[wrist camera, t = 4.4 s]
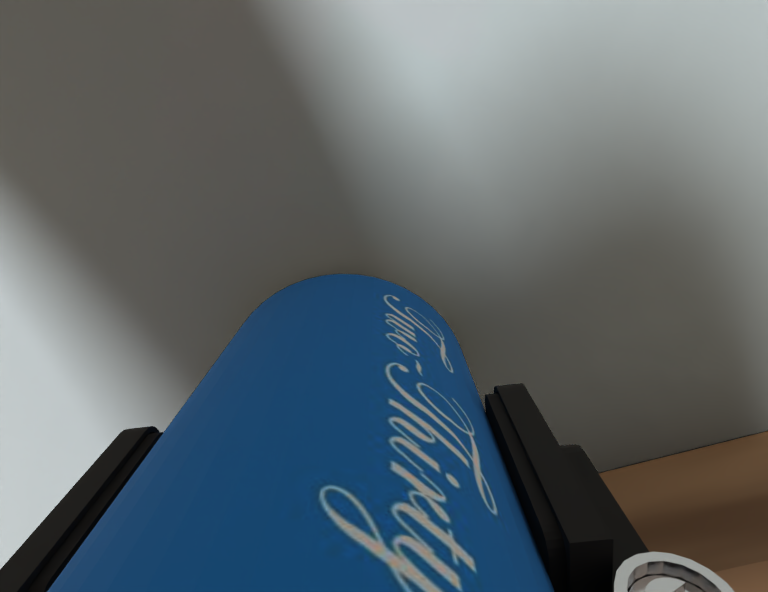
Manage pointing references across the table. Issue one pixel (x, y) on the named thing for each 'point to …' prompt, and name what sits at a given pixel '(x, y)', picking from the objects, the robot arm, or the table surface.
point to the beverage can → (322, 464)
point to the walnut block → (704, 507)
